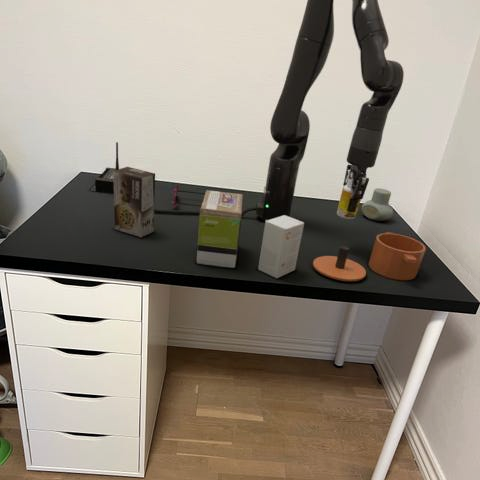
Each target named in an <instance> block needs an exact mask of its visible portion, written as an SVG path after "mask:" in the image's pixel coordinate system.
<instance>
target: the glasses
mask: <svg viewBox="0 0 480 480" xmlns="http://www.w3.org/2000/svg"><path fill="white" fill-rule="evenodd" d="M173 192H174V201H171V205H173V210H176V205H182V206H192V207H201V206H202V204H194V203H193V204H192V203H184V202H179V198H180V197H179V195H178V192H179V193H187V194H188V193H189V194H199V195H205V193H206V192H196V191H188V190H181V189H179V185H176V187H175V189H173Z"/></svg>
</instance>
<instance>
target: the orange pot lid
mask: <svg viewBox="0 0 480 480" xmlns="http://www.w3.org/2000/svg"><path fill="white" fill-rule="evenodd" d="M349 251H350V247H349V246H345V245H340V246H339V250H338V253H337V256H335V255H321V256H318V257H316V258H314V259H313V261H312V267H313V269H314V270H315V271H317V272H318V273H319V274H321V275H323V276H324V277H327V278H330V279H333V280H336V281H341V282H357V281H361V280H363V279H364V278H366V275H367V271H366V269H365V267H363V265H361V264H359V263H358V262H356V261H355V260H352V259H349V258H348V255H349Z"/></svg>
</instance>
